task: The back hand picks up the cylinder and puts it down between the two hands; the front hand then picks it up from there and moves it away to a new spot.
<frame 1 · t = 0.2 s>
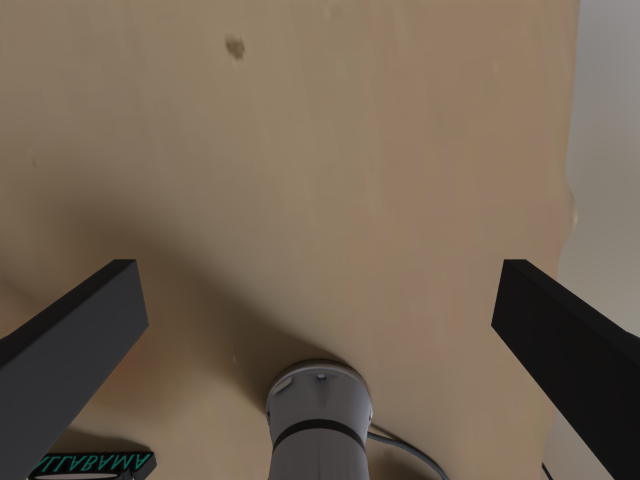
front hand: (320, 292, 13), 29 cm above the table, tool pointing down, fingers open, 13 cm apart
decorative sign: (97, 457, 56), on the table
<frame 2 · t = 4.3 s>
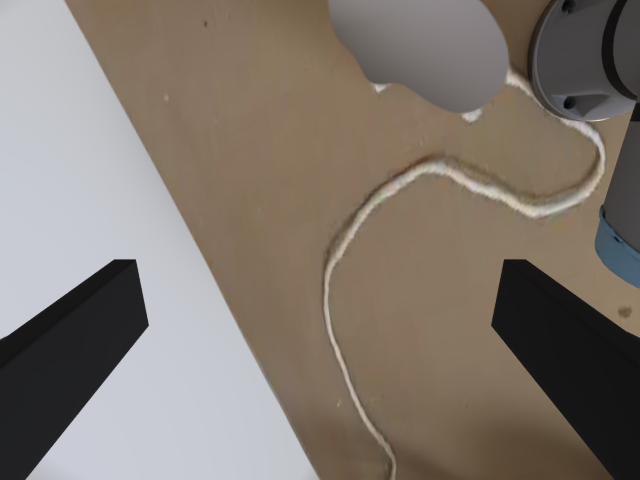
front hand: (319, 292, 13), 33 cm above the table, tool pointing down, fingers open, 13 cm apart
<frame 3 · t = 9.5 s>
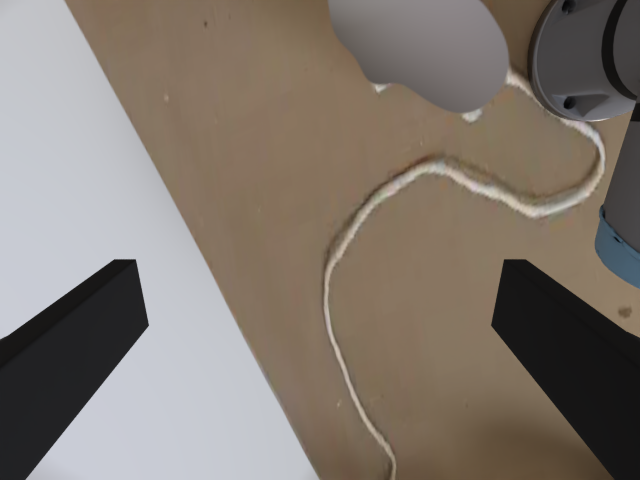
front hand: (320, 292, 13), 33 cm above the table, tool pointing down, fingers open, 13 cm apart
when the back hand's fingers open (4 cm above the table, at t = 14.6 s): cylinder stays where it is, on the table.
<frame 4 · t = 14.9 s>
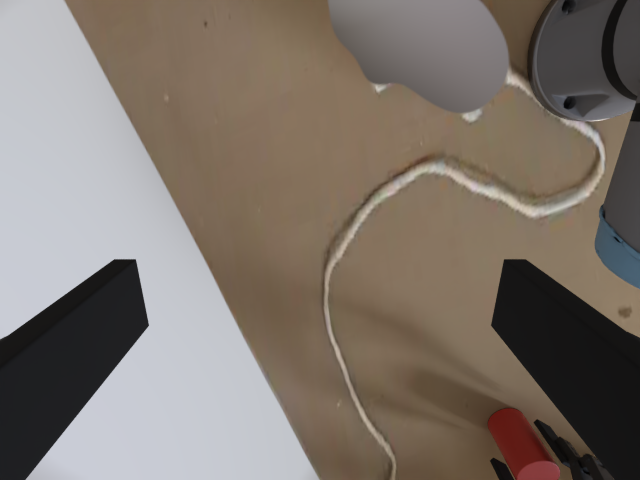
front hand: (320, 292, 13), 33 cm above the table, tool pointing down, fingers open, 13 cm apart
cylinder: (505, 422, 58), on the table
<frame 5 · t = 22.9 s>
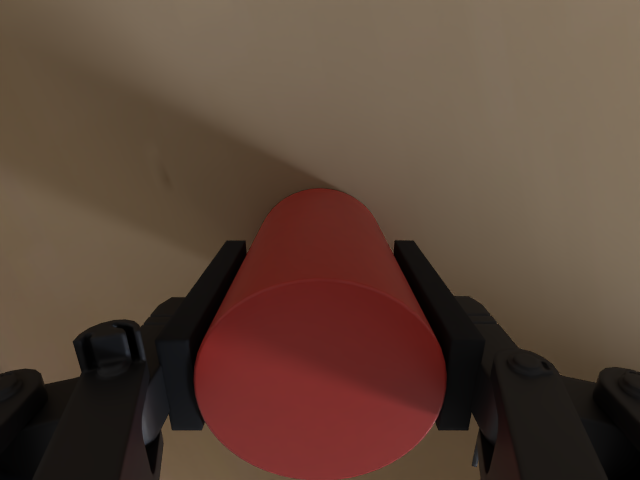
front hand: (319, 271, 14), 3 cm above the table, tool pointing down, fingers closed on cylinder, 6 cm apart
cylinder: (320, 249, 17), on the table, touching front hand
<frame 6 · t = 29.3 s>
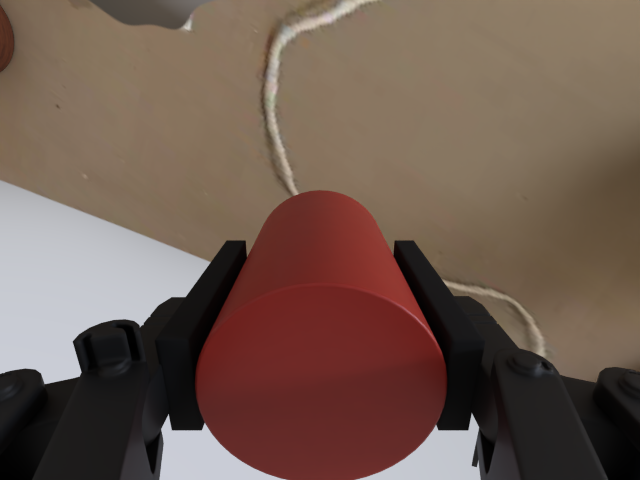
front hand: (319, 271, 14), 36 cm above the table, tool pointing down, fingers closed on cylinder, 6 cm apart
cylinder: (320, 251, 17), point 33 cm above the table, touching front hand
when the front hand's fingers open (4 cm above the table, at t = 35.9 s): cylinder stays where it is, on the table.
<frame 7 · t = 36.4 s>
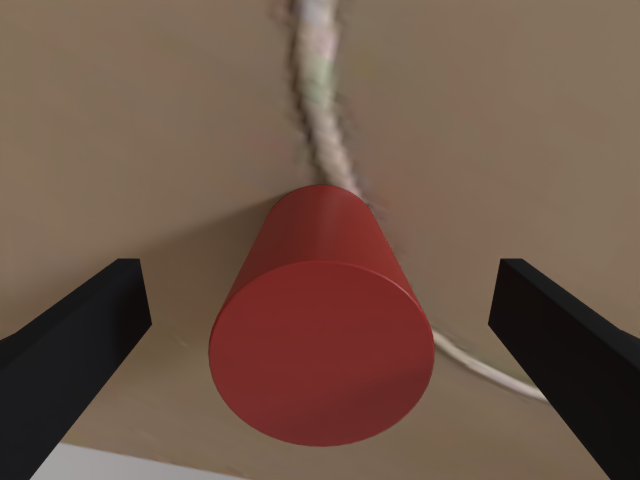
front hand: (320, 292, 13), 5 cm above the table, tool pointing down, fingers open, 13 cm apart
cylinder: (320, 242, 18), on the table
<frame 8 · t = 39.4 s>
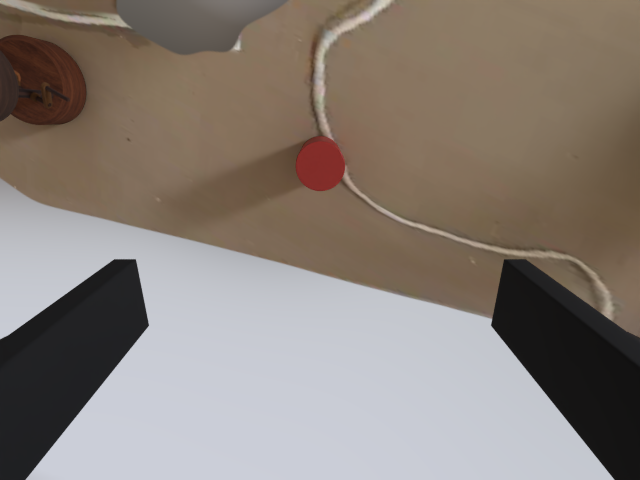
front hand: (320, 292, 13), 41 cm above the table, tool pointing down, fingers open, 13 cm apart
cylinder: (320, 157, 51), on the table
brown tiered piece: (53, 85, 48), on the table
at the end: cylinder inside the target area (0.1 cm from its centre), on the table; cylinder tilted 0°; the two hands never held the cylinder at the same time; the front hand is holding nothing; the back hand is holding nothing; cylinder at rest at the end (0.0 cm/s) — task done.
